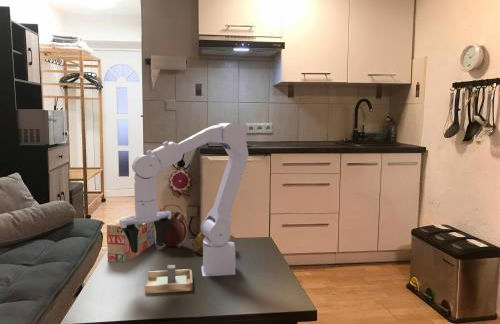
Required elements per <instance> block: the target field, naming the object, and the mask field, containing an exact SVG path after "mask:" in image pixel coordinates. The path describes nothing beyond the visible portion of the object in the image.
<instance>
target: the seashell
mask: <svg viewBox="0 0 500 324" xmlns="http://www.w3.org/2000/svg"><path fill="white" fill-rule="evenodd" d="M204 237H205V236H204V235H203V233H202V231H201V228H200V229H199V233H197V235H196V238H194V239H193V243H191V246H192V248H193V253H197V254H199V255H201V256H203V240H204ZM228 242H234V243H235V242H236V237H235V236H233V235H232V234H231V235H230V239H229V240H228Z"/></svg>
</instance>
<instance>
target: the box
mask: <svg viewBox="0 0 500 324" xmlns="http://www.w3.org/2000/svg"><path fill="white" fill-rule="evenodd" d="M192 271H193V269H192V268H186V269H175V276H180V275H186V278H187V283H174V284H157V285H156V281H157V277H162V276H167V269H166V270H153V271H151V270H150V271H149V270H148V271H147V282H146V284H145V285H144V294H158V293H175V292H189V291H192V292H193V290H194V289H193V287H194V286H193V272H192Z"/></svg>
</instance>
